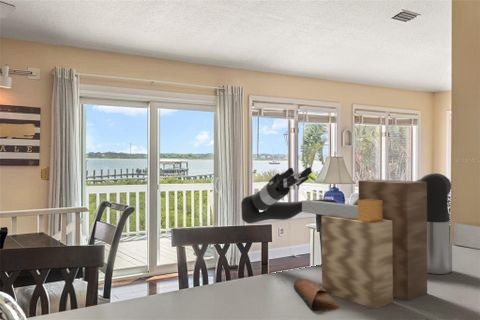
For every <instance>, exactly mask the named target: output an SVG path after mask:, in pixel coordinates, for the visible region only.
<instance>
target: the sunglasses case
mask: <svg viewBox="0 0 480 320" xmlns="http://www.w3.org/2000/svg"><path fill="white" fill-rule="evenodd" d="M293 288H294V289H293V290H295V291H296V292H297V293H298V294H299V295H300V296H301V297H302V299H303V300H304V302H305V303H307V305H308V306H309V307H310V309H312V311H314V312H320V311H322V312H323V311H332V310H333V311H334V310H341V307H340V305H339V304H338V303H337V301H336V300H335V299H333V297H332V296H331V294H329V293H327V291H326V290H325V289H324V288H322V286H320V285H318V284H316V283H314V282H312V281H309V280H307V279H304V278H298V279H296V280H295V281H294V283H293Z"/></svg>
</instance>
